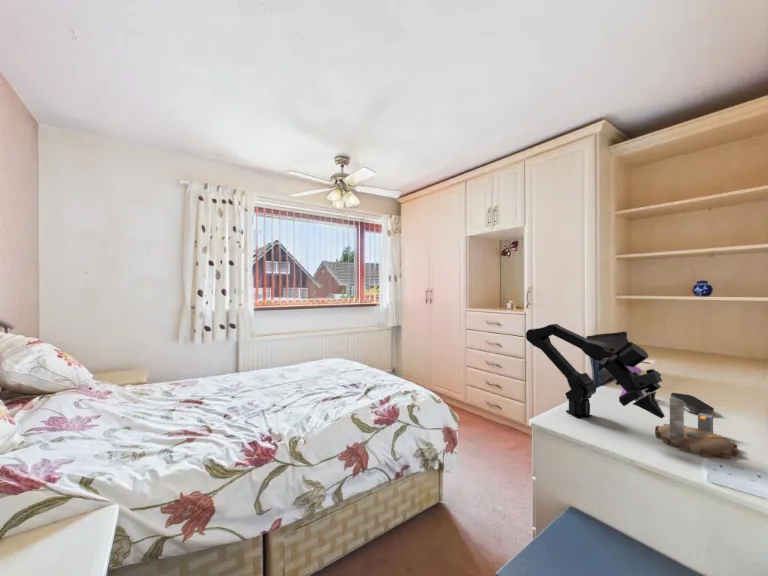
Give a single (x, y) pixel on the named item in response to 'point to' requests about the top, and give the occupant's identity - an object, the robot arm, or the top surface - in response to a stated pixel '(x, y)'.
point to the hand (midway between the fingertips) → (663, 417)
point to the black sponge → (694, 404)
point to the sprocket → (693, 436)
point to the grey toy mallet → (705, 422)
